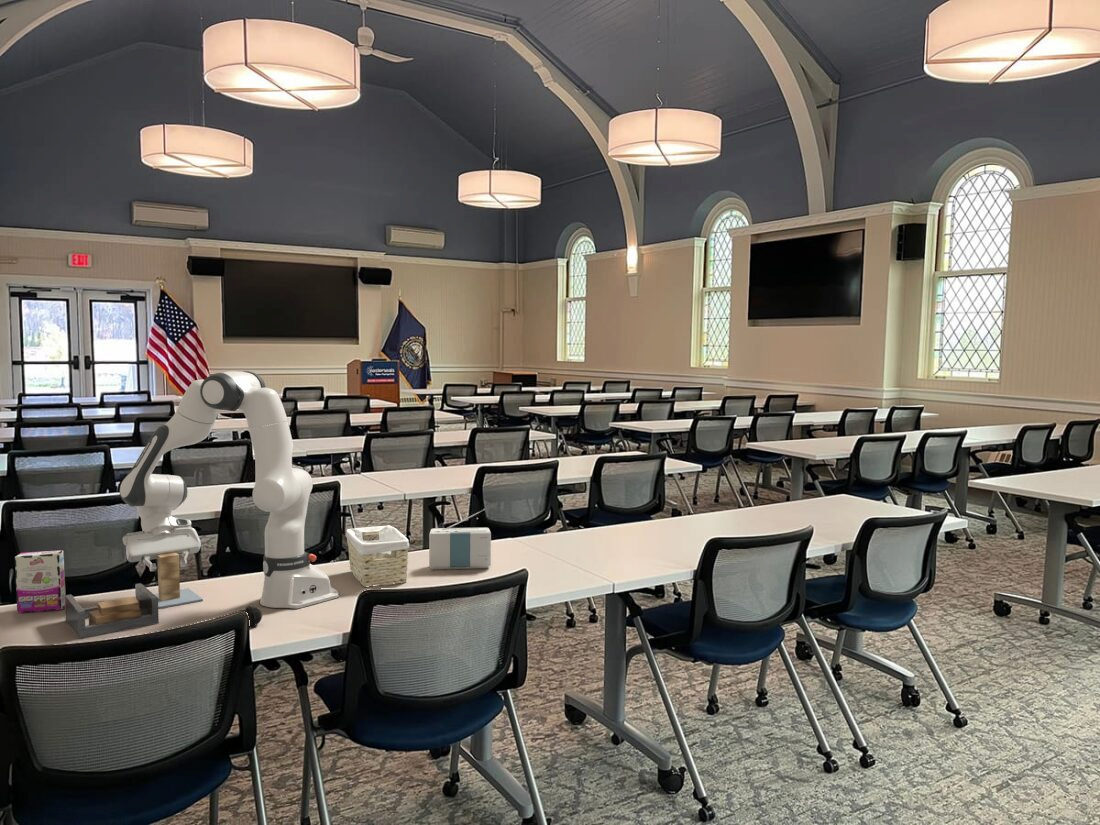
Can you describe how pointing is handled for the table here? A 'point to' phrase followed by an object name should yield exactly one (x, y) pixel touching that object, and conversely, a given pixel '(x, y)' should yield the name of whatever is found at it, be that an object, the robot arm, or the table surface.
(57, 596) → the candy bar box
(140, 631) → the table surface
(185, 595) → the slate mat
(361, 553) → the storage basket
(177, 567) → the tan wooden block
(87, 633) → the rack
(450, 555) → the stereo radio cassette player
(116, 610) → the offcut stack
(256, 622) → the microphone
